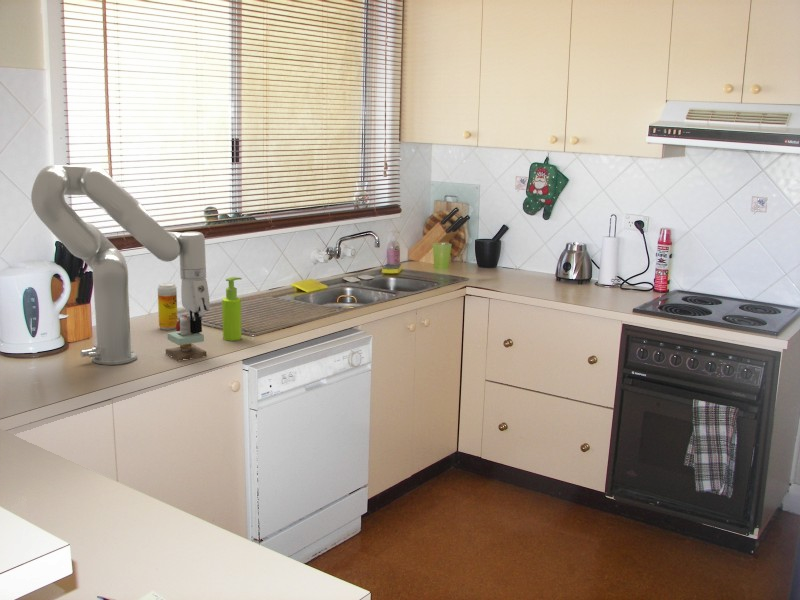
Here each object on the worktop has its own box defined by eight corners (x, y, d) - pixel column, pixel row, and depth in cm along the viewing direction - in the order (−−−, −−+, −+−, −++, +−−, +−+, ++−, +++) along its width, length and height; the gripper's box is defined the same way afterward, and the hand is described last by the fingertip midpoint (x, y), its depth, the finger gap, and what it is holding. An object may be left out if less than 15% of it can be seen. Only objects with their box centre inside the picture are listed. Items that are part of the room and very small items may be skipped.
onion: (177, 341, 277) (176, 317, 276) (175, 336, 283) (174, 313, 281) (196, 340, 280) (195, 315, 278) (193, 335, 285) (192, 311, 283)
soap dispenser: (247, 337, 284) (246, 277, 280) (232, 341, 279) (231, 280, 274) (234, 334, 288) (233, 275, 283) (219, 338, 282) (217, 278, 277)
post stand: (178, 361, 257) (177, 323, 255) (165, 353, 264) (164, 317, 261) (206, 356, 263) (205, 319, 260) (193, 349, 270) (192, 313, 267)
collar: (179, 345, 257) (178, 339, 256) (167, 339, 263) (167, 333, 262) (203, 341, 262) (203, 334, 261) (191, 335, 268) (191, 329, 267)
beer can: (172, 330, 290) (171, 287, 286) (155, 329, 291) (154, 285, 287) (180, 326, 295) (179, 283, 292) (164, 324, 297) (162, 282, 293)
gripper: (216, 276, 256) (218, 335, 261) (193, 267, 268) (196, 325, 272) (193, 279, 252) (195, 339, 256) (170, 270, 263) (173, 329, 267)
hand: (196, 332), depth 264 cm, fingers closed
